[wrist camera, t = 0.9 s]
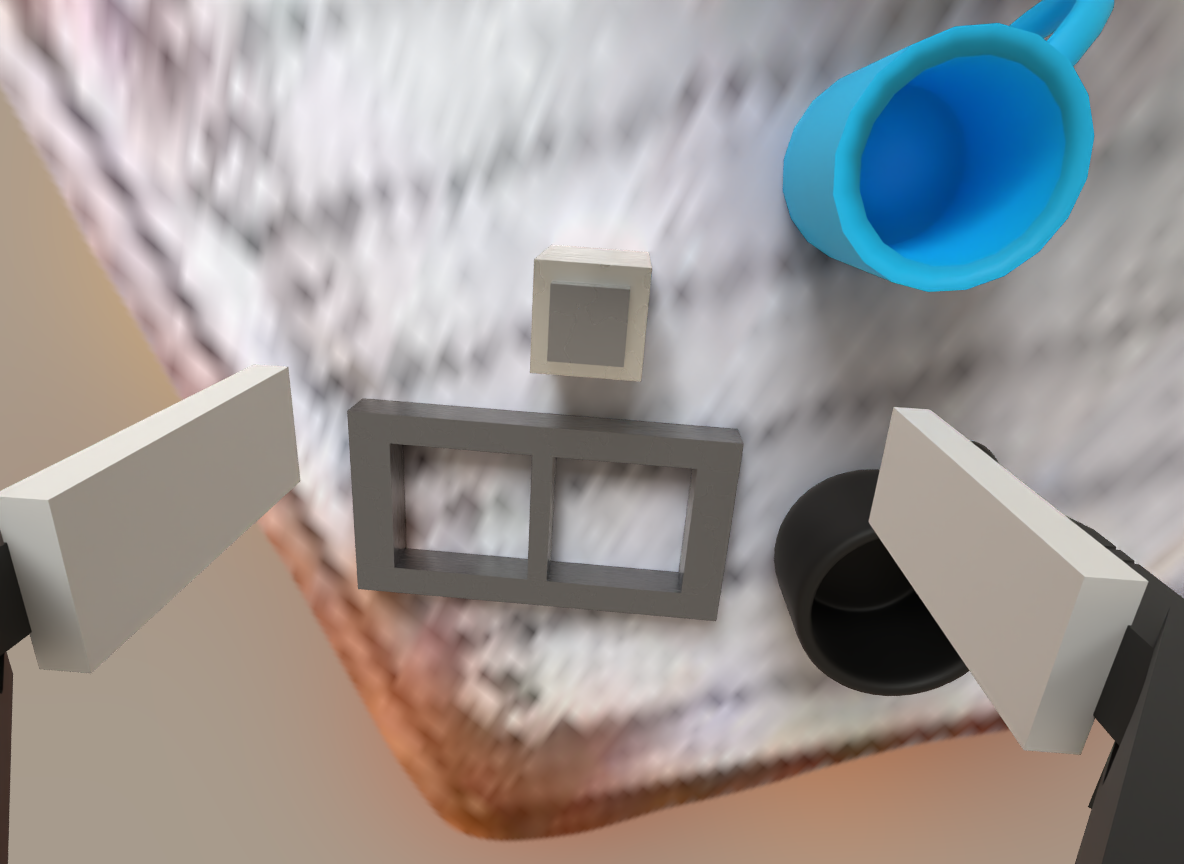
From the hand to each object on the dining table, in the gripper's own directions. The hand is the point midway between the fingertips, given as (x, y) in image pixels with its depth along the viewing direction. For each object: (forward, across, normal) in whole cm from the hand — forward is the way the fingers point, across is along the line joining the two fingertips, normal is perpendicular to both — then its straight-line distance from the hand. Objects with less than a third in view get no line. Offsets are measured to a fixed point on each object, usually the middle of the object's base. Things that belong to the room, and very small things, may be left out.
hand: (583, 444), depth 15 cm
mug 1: (+19, +12, +8) cm, 24 cm away
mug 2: (+19, +14, -10) cm, 26 cm away
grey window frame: (+19, -3, -11) cm, 22 cm away
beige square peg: (+19, -1, 0) cm, 19 cm away
